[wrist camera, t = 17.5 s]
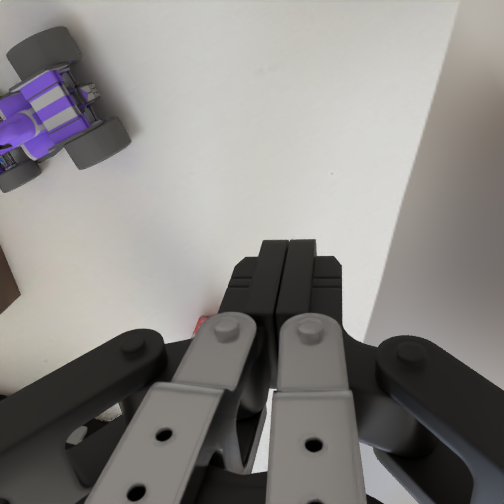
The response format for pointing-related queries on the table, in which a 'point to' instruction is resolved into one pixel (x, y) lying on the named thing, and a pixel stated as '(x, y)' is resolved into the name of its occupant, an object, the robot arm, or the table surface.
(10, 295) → the walnut beam
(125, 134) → the toy race car
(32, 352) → the table surface
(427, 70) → the table surface
